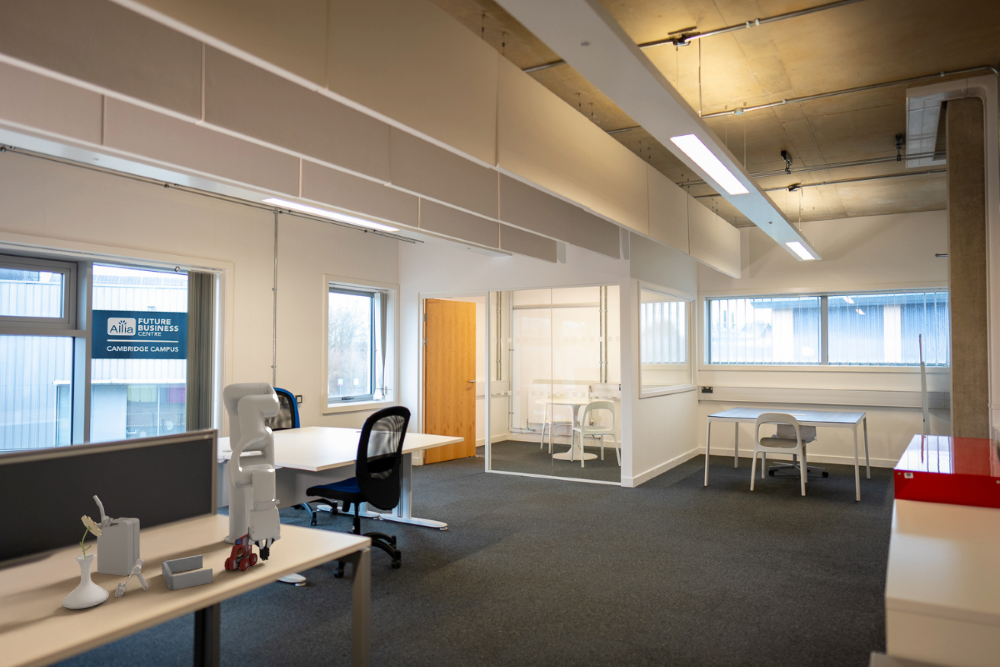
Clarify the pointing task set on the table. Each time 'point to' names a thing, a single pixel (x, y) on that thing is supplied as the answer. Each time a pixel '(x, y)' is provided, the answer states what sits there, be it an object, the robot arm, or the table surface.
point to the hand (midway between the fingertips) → (264, 559)
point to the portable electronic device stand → (135, 570)
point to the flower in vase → (86, 577)
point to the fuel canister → (117, 544)
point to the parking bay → (186, 578)
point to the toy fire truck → (241, 555)
